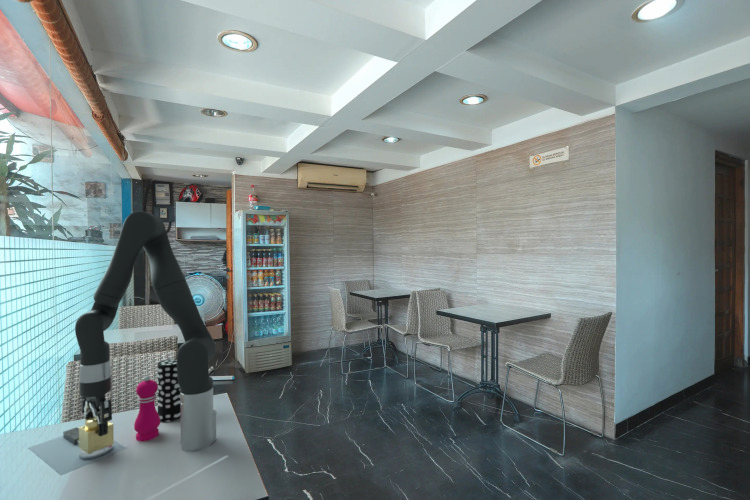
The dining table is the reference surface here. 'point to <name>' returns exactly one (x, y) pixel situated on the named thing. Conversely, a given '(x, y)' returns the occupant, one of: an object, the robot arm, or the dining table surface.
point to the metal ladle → (73, 437)
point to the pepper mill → (147, 411)
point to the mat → (65, 454)
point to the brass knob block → (94, 436)
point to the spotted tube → (168, 391)
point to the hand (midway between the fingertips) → (96, 431)
